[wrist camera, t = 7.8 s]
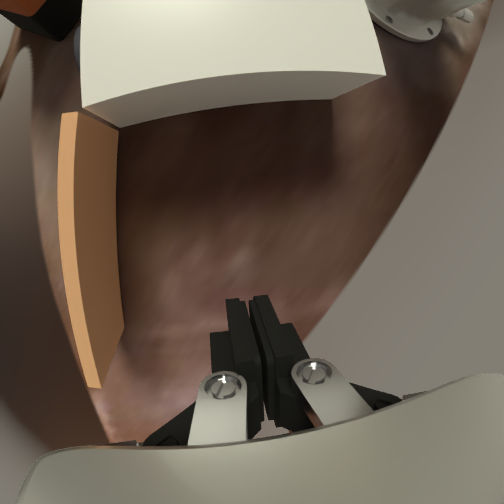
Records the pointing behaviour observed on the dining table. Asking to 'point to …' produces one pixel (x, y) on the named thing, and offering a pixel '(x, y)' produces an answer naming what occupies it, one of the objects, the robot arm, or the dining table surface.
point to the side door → (90, 239)
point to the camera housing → (219, 54)
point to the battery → (43, 15)
